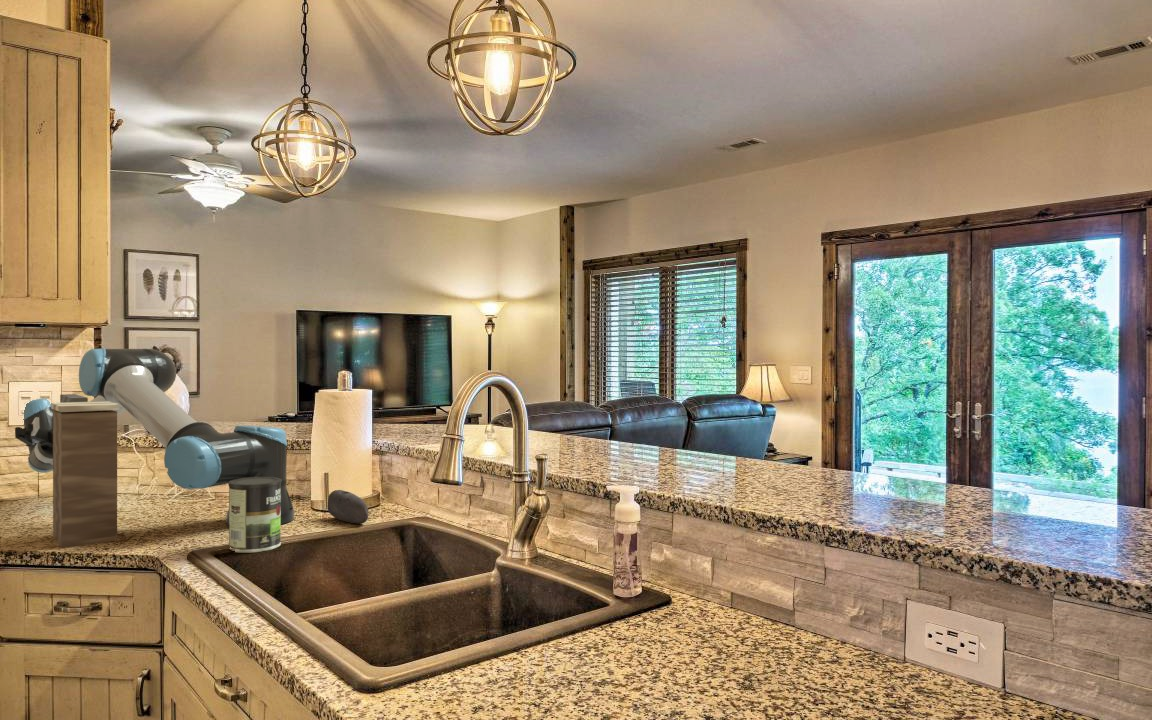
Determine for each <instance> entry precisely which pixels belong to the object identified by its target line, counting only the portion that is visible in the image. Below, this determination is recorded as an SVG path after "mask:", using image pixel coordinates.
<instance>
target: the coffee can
mask: <svg viewBox="0 0 1152 720" xmlns="http://www.w3.org/2000/svg"><path fill="white" fill-rule="evenodd" d="M227 485H228V496H229V497H228V509H229V525H228V546H229V547H231V548H234V549H235V552H234V553H240V554H242V553H243V554H247V553H248V554H250V553H262V552H269V551H271V550H275V549H277V548H279V547H280V546H281V545H282V541H281V538H282V537H281V535H282V534H281V532H282V531H281V525H282V524H281V479H280V478H277V477H248V478H240V479H235V480H231V481H229V482H228V484H227ZM229 547H228V548H229Z"/></svg>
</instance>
